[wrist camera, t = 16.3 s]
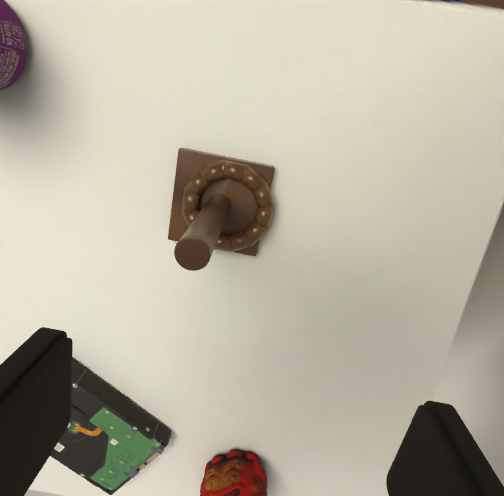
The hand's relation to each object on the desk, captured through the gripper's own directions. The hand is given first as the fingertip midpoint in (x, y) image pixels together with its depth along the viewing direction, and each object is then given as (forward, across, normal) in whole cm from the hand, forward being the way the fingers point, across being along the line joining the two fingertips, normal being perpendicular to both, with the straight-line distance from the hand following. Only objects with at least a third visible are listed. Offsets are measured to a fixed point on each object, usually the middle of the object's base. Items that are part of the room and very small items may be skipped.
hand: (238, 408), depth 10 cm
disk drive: (+24, +14, +28) cm, 39 cm away
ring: (+22, +3, +1) cm, 22 cm away
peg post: (+24, +4, +1) cm, 24 cm away
